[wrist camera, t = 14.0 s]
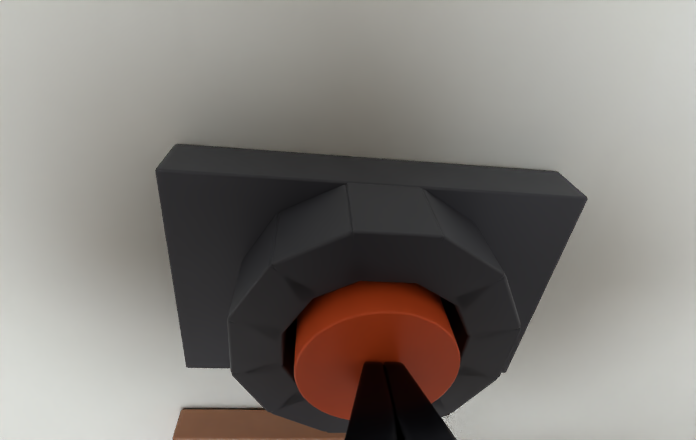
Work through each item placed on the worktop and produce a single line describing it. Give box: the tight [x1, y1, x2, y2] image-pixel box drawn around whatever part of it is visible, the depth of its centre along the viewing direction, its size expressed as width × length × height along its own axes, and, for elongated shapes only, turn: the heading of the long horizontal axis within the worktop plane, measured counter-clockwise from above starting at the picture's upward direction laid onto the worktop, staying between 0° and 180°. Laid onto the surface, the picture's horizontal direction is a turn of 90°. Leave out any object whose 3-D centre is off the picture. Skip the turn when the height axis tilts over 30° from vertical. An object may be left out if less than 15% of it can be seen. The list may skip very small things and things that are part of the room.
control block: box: [155, 144, 587, 433], centre depth 11 cm, size 10×6×4 cm, turn 84°
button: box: [294, 281, 460, 420], centre depth 10 cm, size 4×4×2 cm
